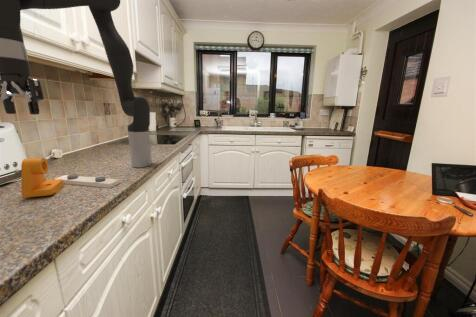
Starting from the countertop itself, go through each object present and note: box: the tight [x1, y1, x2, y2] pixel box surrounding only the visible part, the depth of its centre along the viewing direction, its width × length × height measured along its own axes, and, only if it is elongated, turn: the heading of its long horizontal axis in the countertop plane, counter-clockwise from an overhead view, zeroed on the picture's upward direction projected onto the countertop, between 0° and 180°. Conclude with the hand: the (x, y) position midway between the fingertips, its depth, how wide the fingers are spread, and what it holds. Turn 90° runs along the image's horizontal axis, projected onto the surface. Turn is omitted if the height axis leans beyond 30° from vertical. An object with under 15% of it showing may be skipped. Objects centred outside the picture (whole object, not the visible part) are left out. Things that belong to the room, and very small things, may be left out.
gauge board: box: [52, 174, 121, 189], centre depth 81 cm, size 5×24×2 cm, turn 81°
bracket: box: [20, 157, 64, 199], centre depth 71 cm, size 11×7×12 cm, turn 22°
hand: (22, 114), depth 67 cm, fingers open, 8 cm apart
